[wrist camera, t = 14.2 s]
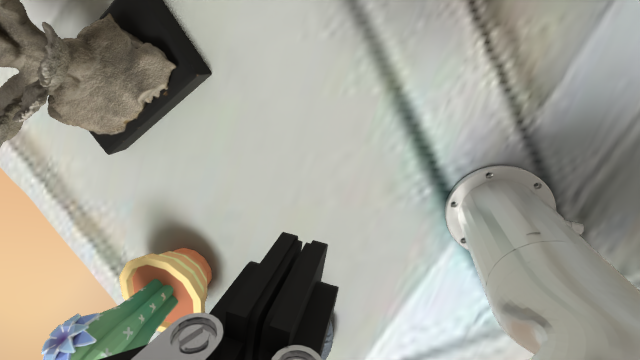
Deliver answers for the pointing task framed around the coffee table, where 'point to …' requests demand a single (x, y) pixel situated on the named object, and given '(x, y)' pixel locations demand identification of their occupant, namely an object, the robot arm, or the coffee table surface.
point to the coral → (98, 71)
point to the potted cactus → (136, 307)
